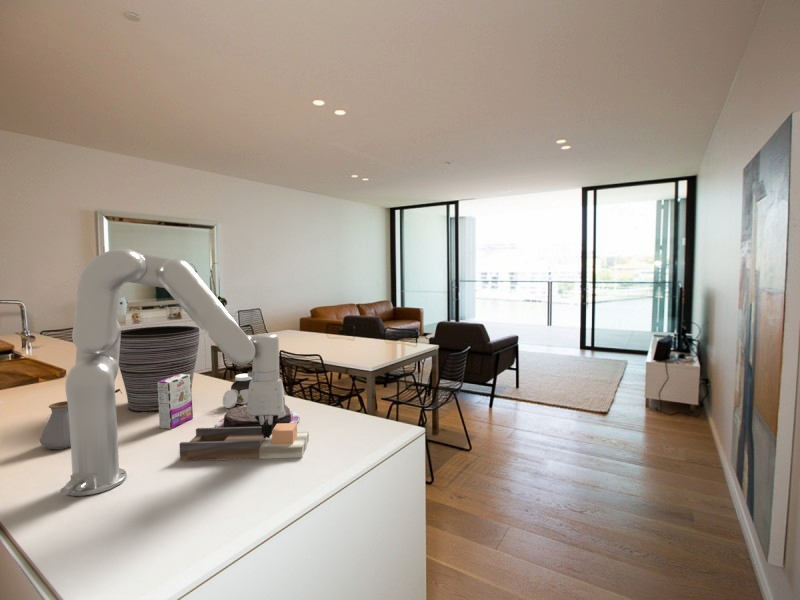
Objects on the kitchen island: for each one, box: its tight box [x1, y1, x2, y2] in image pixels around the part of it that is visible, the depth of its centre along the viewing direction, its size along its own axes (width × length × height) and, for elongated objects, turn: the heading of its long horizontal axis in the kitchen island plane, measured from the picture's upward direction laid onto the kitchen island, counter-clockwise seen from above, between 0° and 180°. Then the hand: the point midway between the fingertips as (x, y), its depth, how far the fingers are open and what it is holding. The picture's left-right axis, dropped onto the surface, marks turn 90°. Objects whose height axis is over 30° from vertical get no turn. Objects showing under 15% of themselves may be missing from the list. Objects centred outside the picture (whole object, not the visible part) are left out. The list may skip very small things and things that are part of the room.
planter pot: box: [118, 325, 200, 413], centre depth 172 cm, size 30×30×30 cm
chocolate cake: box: [214, 404, 300, 429], centre depth 149 cm, size 28×28×7 cm
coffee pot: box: [39, 388, 123, 450], centre depth 134 cm, size 21×12×15 cm, turn 129°
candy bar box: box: [157, 374, 194, 430], centre depth 149 cm, size 11×5×16 cm, turn 168°
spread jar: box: [222, 373, 252, 409], centre depth 170 cm, size 12×11×12 cm
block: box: [272, 423, 298, 444], centre depth 127 cm, size 6×6×4 cm
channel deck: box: [179, 427, 310, 462], centre depth 126 cm, size 12×34×5 cm, turn 93°
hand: (267, 436), depth 127 cm, fingers closed
